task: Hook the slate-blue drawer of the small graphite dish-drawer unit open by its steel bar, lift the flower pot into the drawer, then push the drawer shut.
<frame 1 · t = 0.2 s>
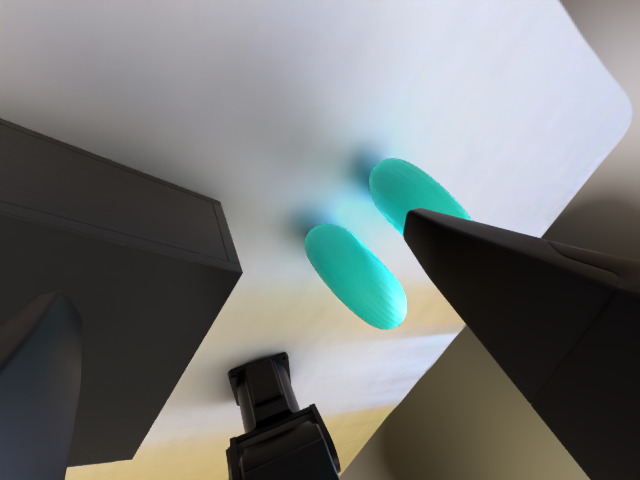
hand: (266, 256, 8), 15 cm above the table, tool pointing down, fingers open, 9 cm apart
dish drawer: (24, 368, 19), point 4 cm above the table, slide at 0.5 cm
donuts: (356, 212, 28), on the table
black drawer cabinet: (64, 265, 21), on the table
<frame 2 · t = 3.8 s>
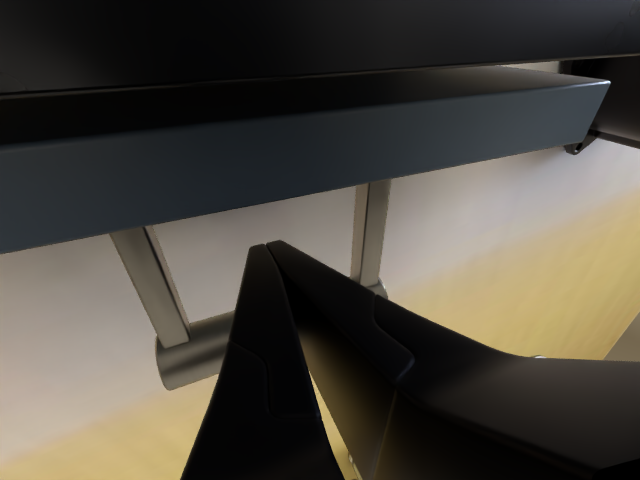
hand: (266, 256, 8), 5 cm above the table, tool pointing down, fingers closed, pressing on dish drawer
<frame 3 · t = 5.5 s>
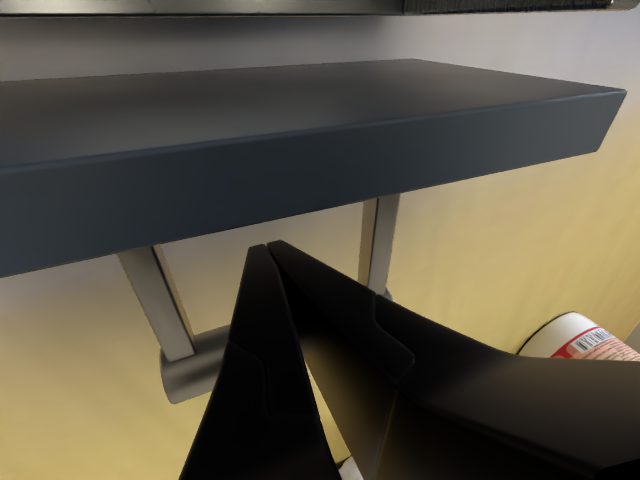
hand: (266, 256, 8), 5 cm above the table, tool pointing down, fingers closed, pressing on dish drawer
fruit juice: (543, 338, 36), on the table
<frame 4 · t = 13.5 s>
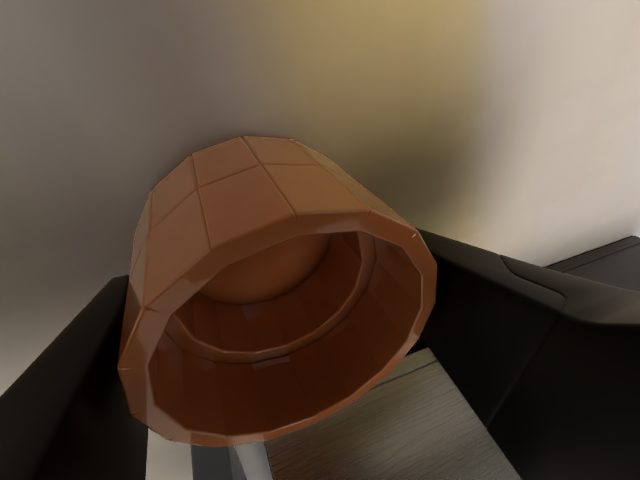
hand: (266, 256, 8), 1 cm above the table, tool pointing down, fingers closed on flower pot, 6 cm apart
flower pot: (256, 236, 9), on the table, touching gripper
black drawer cabinet: (504, 345, 22), on the table
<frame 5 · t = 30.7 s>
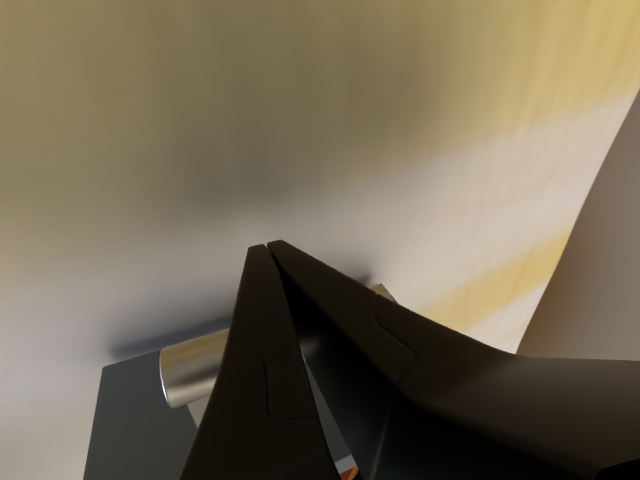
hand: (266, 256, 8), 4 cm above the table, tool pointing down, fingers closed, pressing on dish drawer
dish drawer: (288, 438, 15), point 4 cm above the table, slide at 8.8 cm, touching flower pot, gripper
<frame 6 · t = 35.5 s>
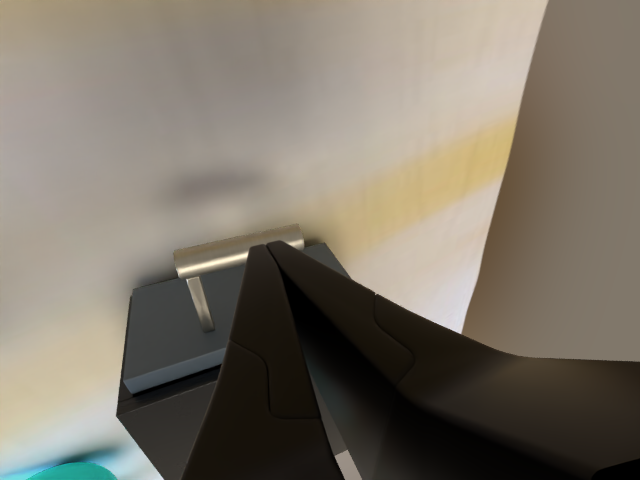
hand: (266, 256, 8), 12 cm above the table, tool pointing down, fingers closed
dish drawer: (257, 346, 22), point 4 cm above the table, slide at 0.0 cm, touching flower pot
black drawer cabinet: (252, 339, 28), on the table
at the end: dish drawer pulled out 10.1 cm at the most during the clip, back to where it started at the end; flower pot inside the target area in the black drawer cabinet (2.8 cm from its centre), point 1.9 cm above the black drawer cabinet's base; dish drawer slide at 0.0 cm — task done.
